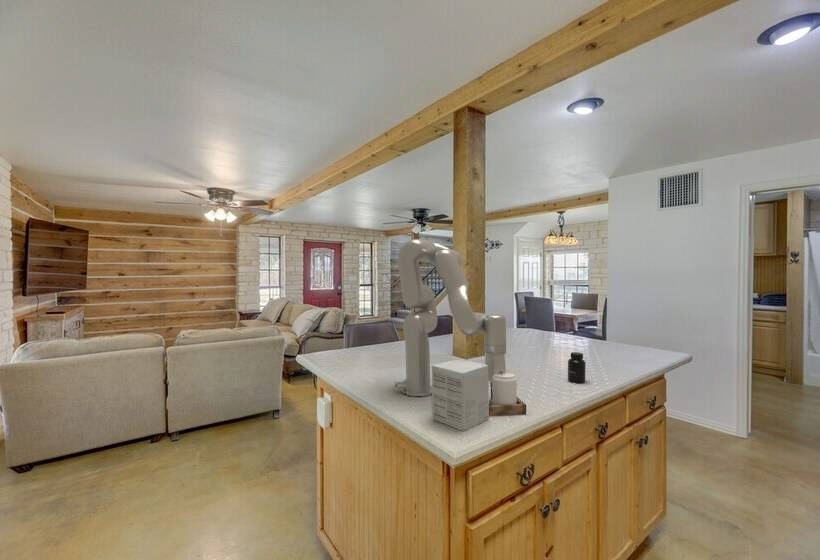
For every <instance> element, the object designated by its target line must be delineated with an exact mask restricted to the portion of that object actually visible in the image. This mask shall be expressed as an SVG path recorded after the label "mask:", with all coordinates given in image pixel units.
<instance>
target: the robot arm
mask: <svg viewBox="0 0 820 560" xmlns="http://www.w3.org/2000/svg"><path fill="white" fill-rule="evenodd" d="M397 254H398V255H397V268H398V272H399V280H400V288H401V294H402V296H401V297H402V301H403V304H404V306H406V308H408V309H414V312H411V313H409V314H407V316H406V317H405V318H404V320H403V324H402V327H403V328H402V330H403V335H404V341H405V345H404V347H405V375H406V376H405V378H404V380H402V381H394V388H398V389H402V390H401V391H403V392H404V393H406V394H408V395H412V396H411V397H415V396H421V397H427V396H432V385H431V353H430V351H431V349H430V346H431V345H430V340H429V336H428V333H431V332H433V331H434V330H435V329H436V328H437V325H438V314H437V312H438V311H437V307H436V298H435V294H434V292H433V290H432V288H431V287H430V286H429V285H427V284H424V283H423V280H422V279H423V278H422V271H421V269H420V266H419V262H426V263H429V264H432V265H434V267H435V268H436V271H437V273H438V275H439V277H440V279H441V281H442V284H443V286H444V288H445V291H446V293H447V298H448V299H447V300H448V305H449V308H450V310H449V311H450V312H451V315H452V317H453V320H454V322H455V324H456V326H457V328H458V329H459V331H460V332H461V333H462V334H463V335H464V336H468V337H474V336H476V335H478V334H479V333H484V353H485V356H484V364H485V365H488V380H489V382H490V383H489V384H490V385H489V387H490V400H491V401H492V377H493V374H494V375H498V374H506V372H507V371H506V370H507V369H506V358H505V355H506V354H507V318H506V316H505V315H504V314H501V313H489V314H488V313H484V312H483V313H482V312H477V311H475V312H474V311H473V309H472V307H471V304H470V301H469V297H468V295H469V287H470V286H469V285H470V284H469V282H468V279H467V277H466V276H465V273H464V272H463V269H462V265H463V264H462V263H463V259H462V255H461V254H460V253H459V252H458V251H457V250H454V249H453V248H452V249H451V248H449V247H446V246H443V245H441V244H438V243H436V242H433V241H429V240H425V239H421V238H420V239H419V238H415V239H410V240H408V241H406V242H405V243H404V244H402V246H401V247H400V249H399V251H398V253H397ZM403 392H402V393H403ZM404 393H403V394H404ZM408 395H407V396H408Z"/></svg>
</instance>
